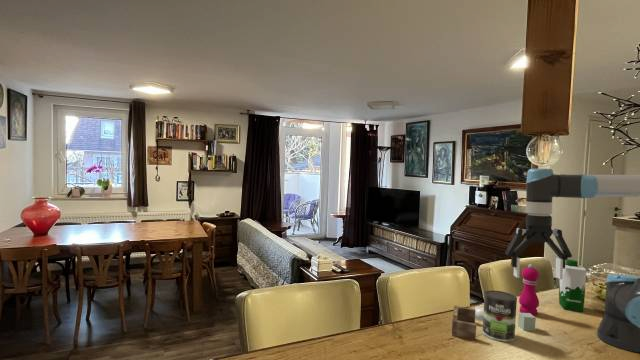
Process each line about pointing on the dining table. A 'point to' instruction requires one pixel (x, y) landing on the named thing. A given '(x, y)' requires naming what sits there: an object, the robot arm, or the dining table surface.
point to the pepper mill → (529, 291)
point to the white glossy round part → (479, 313)
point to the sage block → (526, 321)
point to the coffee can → (499, 315)
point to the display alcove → (464, 323)
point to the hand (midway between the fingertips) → (537, 277)
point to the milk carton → (572, 286)
